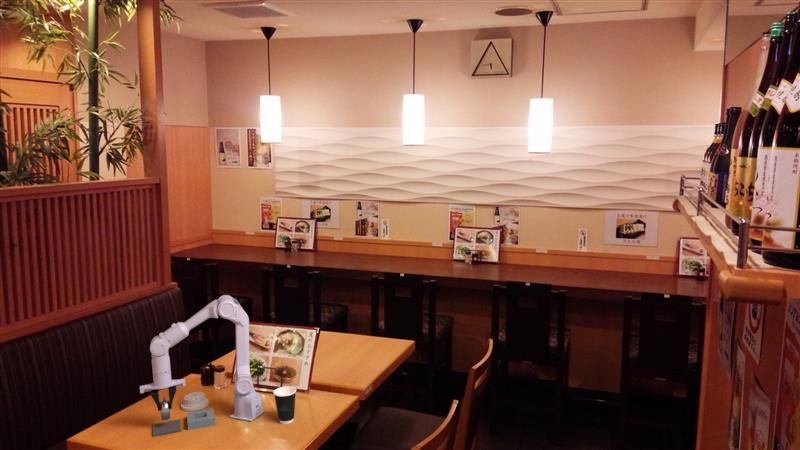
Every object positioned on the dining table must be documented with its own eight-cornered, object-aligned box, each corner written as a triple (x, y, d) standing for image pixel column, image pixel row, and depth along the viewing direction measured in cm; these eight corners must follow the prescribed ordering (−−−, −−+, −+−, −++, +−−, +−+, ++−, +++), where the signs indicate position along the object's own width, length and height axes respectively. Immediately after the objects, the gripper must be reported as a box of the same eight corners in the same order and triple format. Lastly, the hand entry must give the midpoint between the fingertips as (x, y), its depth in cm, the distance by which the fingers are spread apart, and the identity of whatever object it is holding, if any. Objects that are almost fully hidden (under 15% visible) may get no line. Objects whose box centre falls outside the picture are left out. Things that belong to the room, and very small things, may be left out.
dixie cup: (292, 413, 213) (290, 384, 212) (301, 421, 207) (300, 391, 205) (271, 420, 209) (269, 390, 207) (280, 428, 202) (278, 397, 201)
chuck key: (170, 414, 208) (168, 395, 207) (170, 420, 202) (168, 401, 201) (161, 415, 206) (159, 397, 206) (161, 422, 201) (159, 403, 200)
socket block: (213, 414, 215) (212, 407, 214) (215, 424, 206) (214, 418, 206) (187, 419, 211) (186, 412, 211) (188, 430, 203) (187, 423, 203)
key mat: (180, 420, 211) (180, 419, 211) (181, 431, 202) (180, 429, 202) (153, 425, 207) (153, 424, 207) (152, 437, 199) (152, 435, 199)
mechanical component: (175, 411, 219) (200, 412, 217) (174, 399, 219) (199, 401, 217) (190, 400, 229) (213, 401, 227) (189, 389, 228) (212, 390, 226)
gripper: (183, 363, 209) (186, 400, 210) (139, 370, 203) (142, 408, 205) (184, 370, 202) (187, 408, 204) (138, 377, 197) (141, 416, 198)
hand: (165, 408), depth 204 cm, fingers closed on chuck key, 3 cm apart
